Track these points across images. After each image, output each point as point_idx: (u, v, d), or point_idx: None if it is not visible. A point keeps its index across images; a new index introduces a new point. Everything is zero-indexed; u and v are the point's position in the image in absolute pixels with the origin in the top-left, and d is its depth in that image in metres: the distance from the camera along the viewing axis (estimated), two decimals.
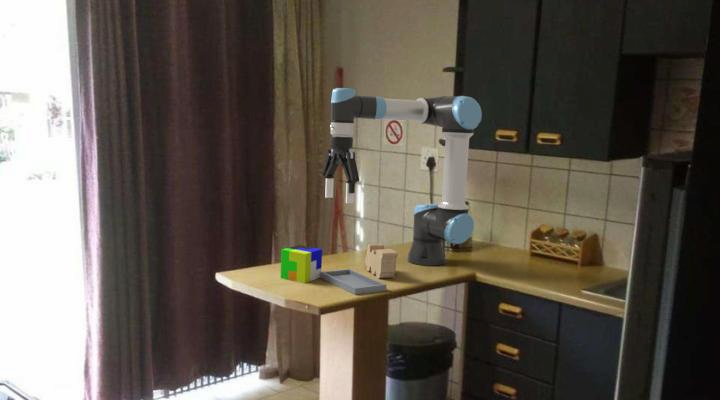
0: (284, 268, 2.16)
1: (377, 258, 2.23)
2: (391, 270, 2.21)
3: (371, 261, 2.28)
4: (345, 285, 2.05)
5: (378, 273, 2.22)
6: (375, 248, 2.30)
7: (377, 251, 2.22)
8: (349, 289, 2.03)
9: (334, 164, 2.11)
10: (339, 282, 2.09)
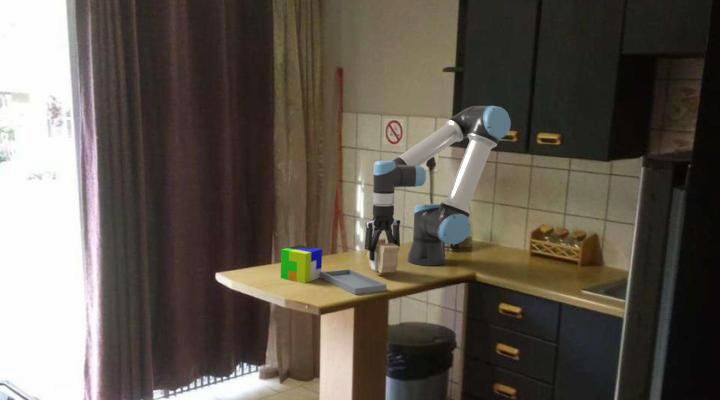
0: (284, 268, 2.16)
1: (378, 253, 2.23)
2: (393, 264, 2.21)
3: None
4: (345, 285, 2.05)
5: (380, 267, 2.22)
6: None
7: (378, 245, 2.22)
8: (349, 289, 2.03)
9: (386, 231, 2.27)
10: (339, 282, 2.09)
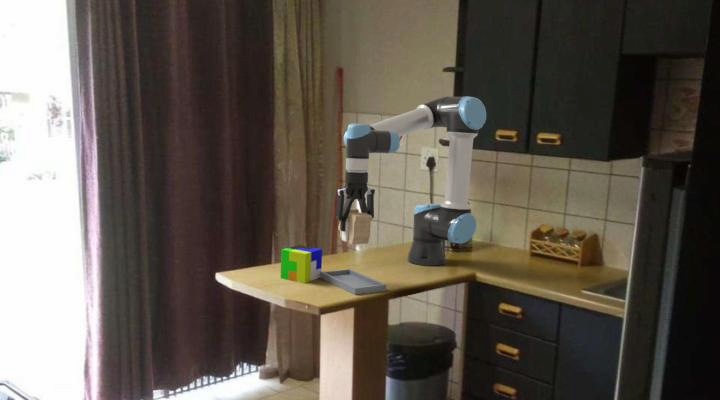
0: (284, 268, 2.16)
1: (350, 222, 2.06)
2: (365, 234, 2.05)
3: None
4: (345, 285, 2.05)
5: (351, 238, 2.05)
6: (349, 213, 2.14)
7: (350, 215, 2.06)
8: (349, 289, 2.03)
9: (359, 201, 2.11)
10: (339, 282, 2.09)
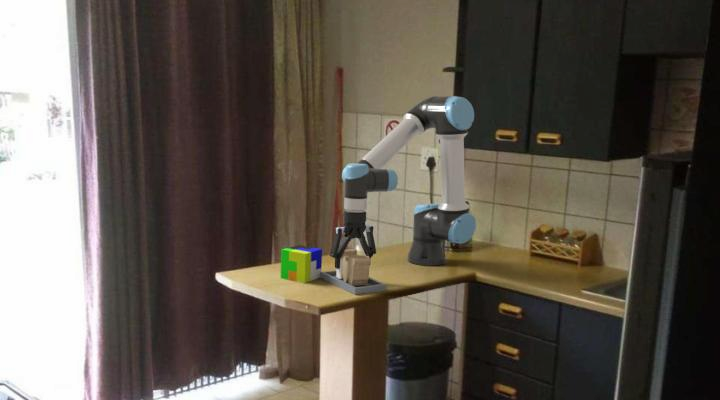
0: (284, 268, 2.16)
1: (349, 265, 2.08)
2: (364, 277, 2.07)
3: (343, 268, 2.13)
4: (345, 285, 2.05)
5: (350, 281, 2.07)
6: (347, 254, 2.16)
7: (349, 257, 2.08)
8: (349, 289, 2.03)
9: (359, 239, 2.13)
10: (339, 282, 2.09)
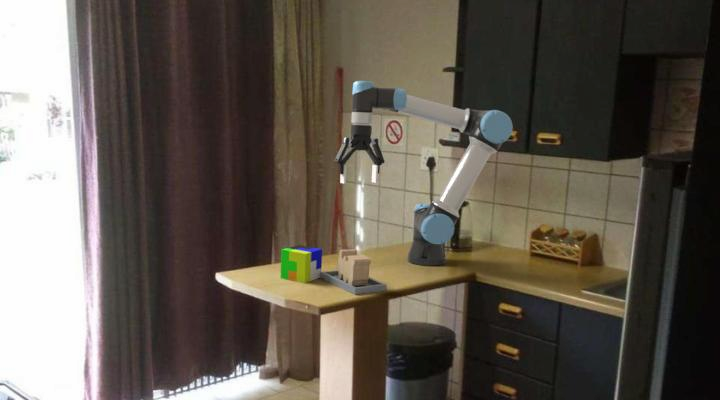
0: (284, 268, 2.16)
1: (349, 265, 2.08)
2: (364, 277, 2.07)
3: (343, 268, 2.13)
4: (345, 285, 2.05)
5: (350, 281, 2.07)
6: (347, 254, 2.16)
7: (349, 257, 2.08)
8: (349, 289, 2.03)
9: (367, 151, 2.33)
10: (339, 282, 2.09)
